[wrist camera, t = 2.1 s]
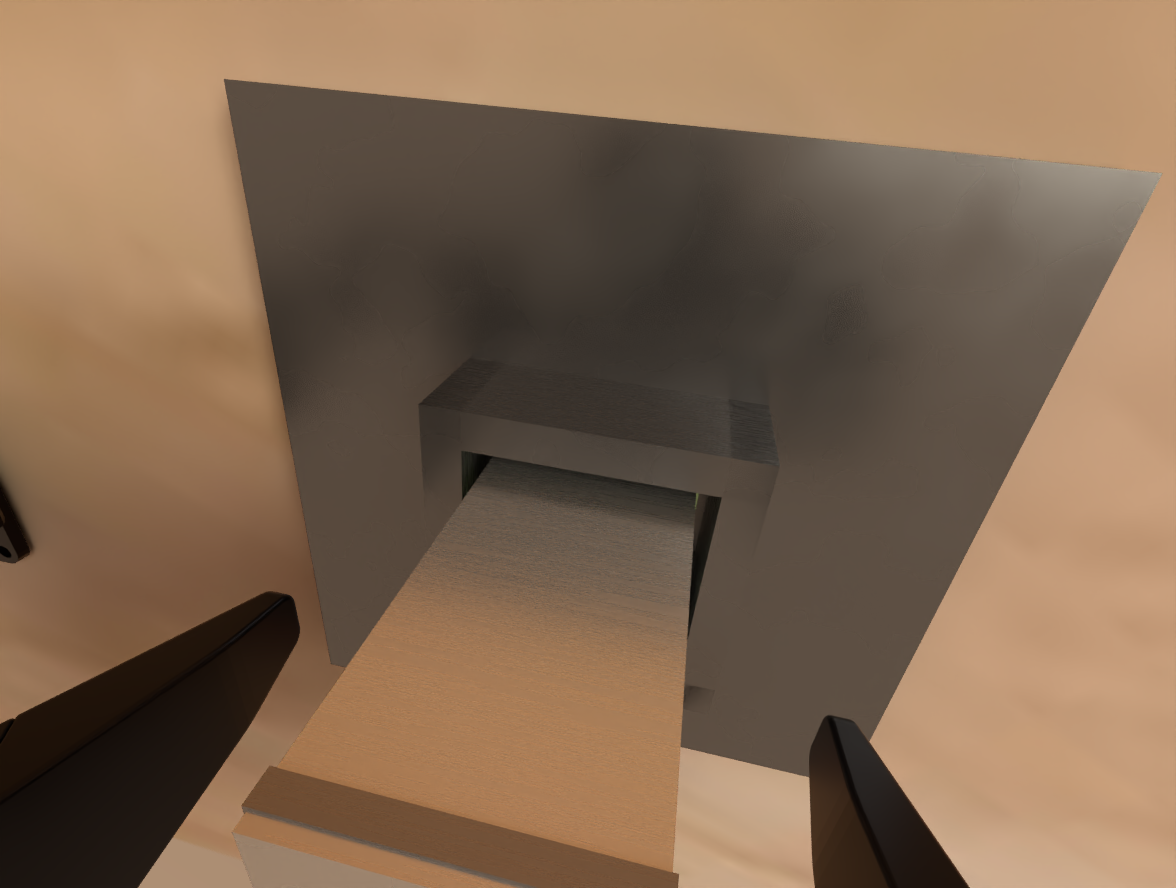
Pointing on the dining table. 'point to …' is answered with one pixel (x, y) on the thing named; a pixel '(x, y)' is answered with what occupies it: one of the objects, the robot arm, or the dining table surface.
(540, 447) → the stand base
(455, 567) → the post
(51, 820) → the robot arm
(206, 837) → the dining table surface
